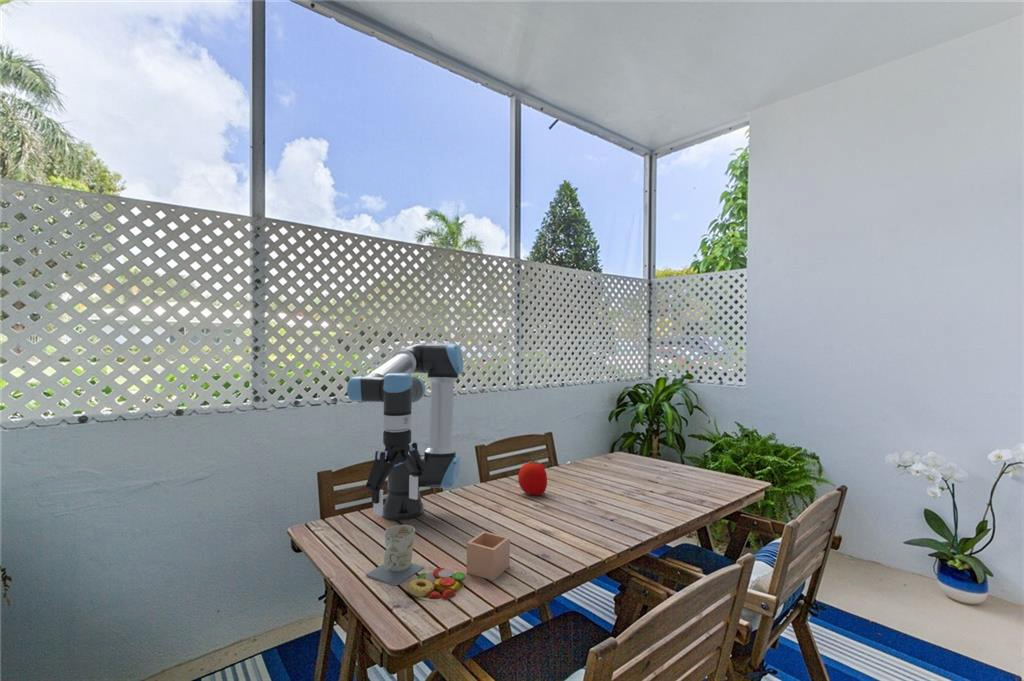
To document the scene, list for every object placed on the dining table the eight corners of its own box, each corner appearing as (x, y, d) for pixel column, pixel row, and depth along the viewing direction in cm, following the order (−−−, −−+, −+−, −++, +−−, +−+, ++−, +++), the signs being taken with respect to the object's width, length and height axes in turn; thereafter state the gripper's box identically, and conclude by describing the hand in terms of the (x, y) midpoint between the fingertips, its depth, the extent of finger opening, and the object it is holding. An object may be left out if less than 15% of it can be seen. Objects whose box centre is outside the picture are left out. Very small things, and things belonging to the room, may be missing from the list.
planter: (466, 575, 121) (466, 542, 121) (483, 562, 128) (484, 531, 128) (493, 584, 116) (493, 550, 117) (509, 570, 124) (509, 537, 124)
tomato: (552, 493, 188) (552, 460, 188) (539, 501, 178) (539, 466, 178) (526, 488, 194) (527, 455, 195) (512, 495, 185) (513, 461, 185)
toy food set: (401, 599, 110) (401, 586, 110) (429, 573, 122) (429, 561, 122) (448, 611, 105) (448, 597, 105) (472, 583, 117) (473, 571, 118)
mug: (419, 560, 127) (419, 526, 127) (400, 584, 115) (400, 545, 115) (392, 557, 129) (392, 523, 129) (370, 580, 117) (371, 542, 117)
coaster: (365, 576, 120) (365, 574, 120) (395, 559, 129) (395, 557, 129) (395, 587, 114) (396, 585, 114) (424, 569, 124) (424, 567, 124)
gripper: (372, 439, 109) (371, 525, 109) (436, 423, 131) (436, 495, 131) (351, 436, 113) (350, 518, 113) (417, 421, 135) (416, 490, 135)
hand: (396, 506), depth 122 cm, fingers open, 13 cm apart
